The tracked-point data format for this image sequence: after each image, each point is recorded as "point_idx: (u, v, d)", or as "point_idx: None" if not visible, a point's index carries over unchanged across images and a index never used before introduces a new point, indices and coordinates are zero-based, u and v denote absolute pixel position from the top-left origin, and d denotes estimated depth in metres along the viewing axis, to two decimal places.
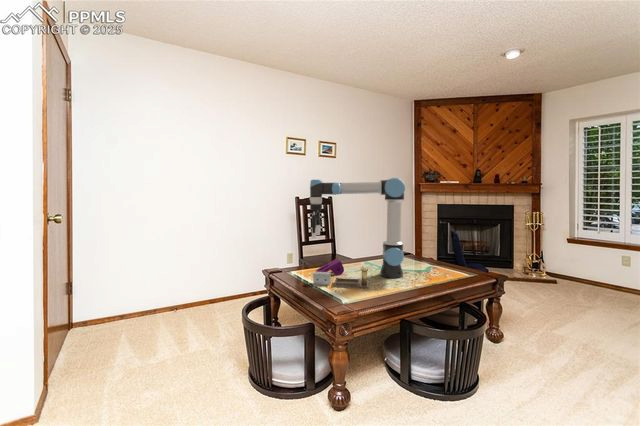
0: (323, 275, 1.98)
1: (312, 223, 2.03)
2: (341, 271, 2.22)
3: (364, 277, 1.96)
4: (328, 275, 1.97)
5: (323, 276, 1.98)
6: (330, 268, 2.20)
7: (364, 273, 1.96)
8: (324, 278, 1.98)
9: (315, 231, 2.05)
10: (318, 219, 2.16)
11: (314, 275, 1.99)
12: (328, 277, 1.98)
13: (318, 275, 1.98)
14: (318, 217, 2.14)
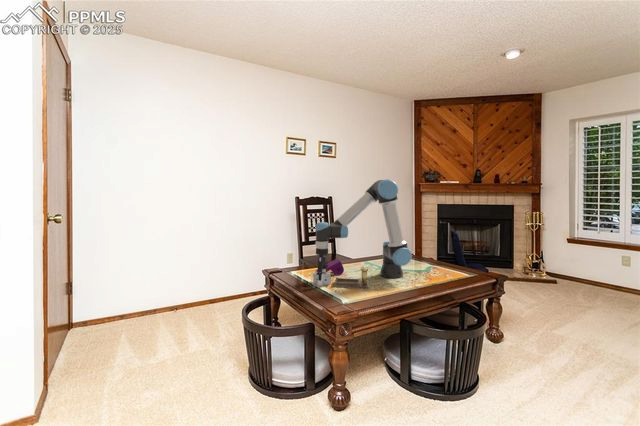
0: (323, 275, 1.98)
1: (318, 270, 1.91)
2: (340, 271, 2.22)
3: (364, 277, 1.96)
4: (328, 275, 1.97)
5: (323, 276, 1.98)
6: (330, 268, 2.20)
7: (364, 273, 1.96)
8: (324, 278, 1.98)
9: (321, 278, 1.93)
10: (324, 263, 2.04)
11: (314, 275, 1.99)
12: (328, 277, 1.98)
13: None
14: (324, 261, 2.03)
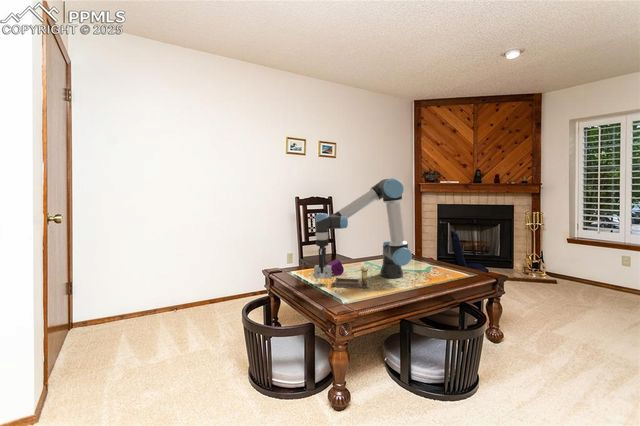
0: (324, 268, 1.98)
1: (320, 264, 1.94)
2: (340, 271, 2.21)
3: (364, 277, 1.96)
4: (329, 268, 1.97)
5: (324, 269, 1.98)
6: None
7: (364, 273, 1.96)
8: (325, 271, 1.98)
9: (323, 271, 1.97)
10: (324, 256, 2.02)
11: (315, 268, 1.99)
12: (329, 270, 1.97)
13: (319, 268, 1.98)
14: (324, 254, 2.01)
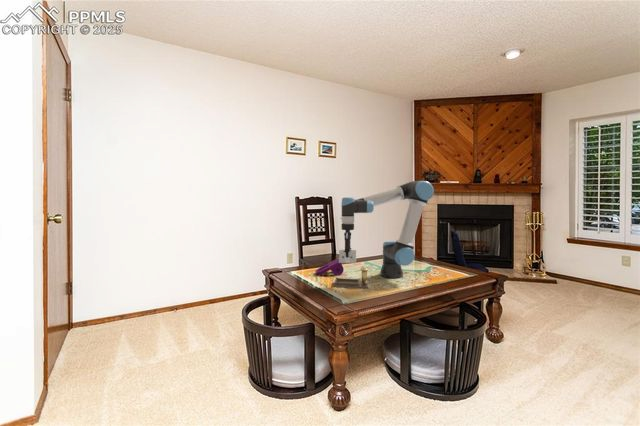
0: None
1: (346, 248, 1.92)
2: (340, 271, 2.21)
3: (364, 277, 1.96)
4: (354, 252, 1.95)
5: None
6: (329, 268, 2.20)
7: (364, 273, 1.96)
8: (350, 255, 1.95)
9: (348, 255, 1.95)
10: None
11: (340, 252, 1.96)
12: (354, 255, 1.95)
13: (344, 252, 1.96)
14: (349, 238, 1.99)
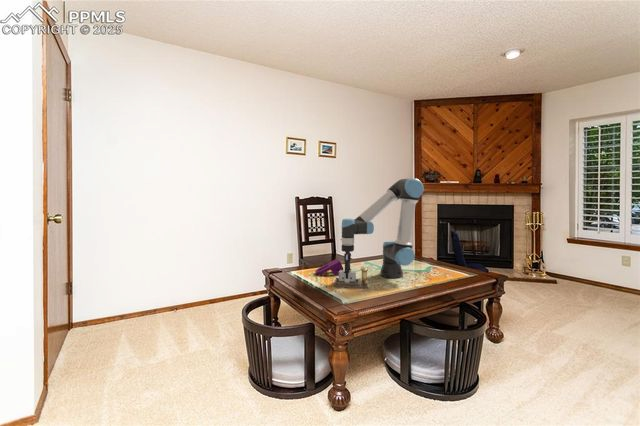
0: (349, 273, 1.96)
1: (345, 269, 1.93)
2: None
3: (364, 277, 1.96)
4: (354, 273, 1.96)
5: (349, 274, 1.96)
6: (329, 268, 2.20)
7: (364, 273, 1.96)
8: (350, 276, 1.96)
9: (348, 277, 1.96)
10: (349, 262, 2.00)
11: (339, 273, 1.97)
12: (354, 276, 1.96)
13: (344, 273, 1.97)
14: (349, 259, 2.00)
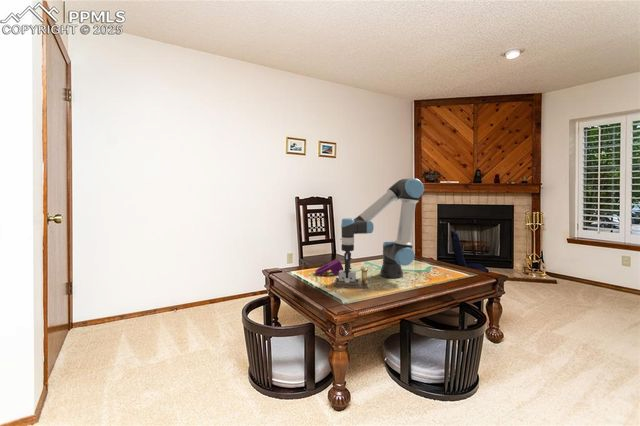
0: None
1: (345, 269, 1.92)
2: None
3: (364, 277, 1.96)
4: (354, 273, 1.96)
5: None
6: (329, 268, 2.20)
7: (364, 273, 1.96)
8: (350, 276, 1.96)
9: (348, 276, 1.95)
10: (349, 261, 2.01)
11: (339, 273, 1.97)
12: (354, 276, 1.96)
13: (344, 273, 1.97)
14: (349, 259, 2.00)
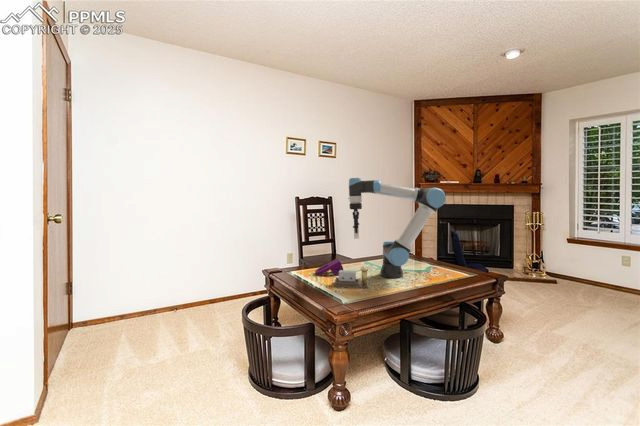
0: (349, 273, 1.96)
1: (355, 223, 1.95)
2: None
3: (364, 277, 1.96)
4: (354, 273, 1.96)
5: (349, 274, 1.96)
6: (329, 268, 2.20)
7: (364, 273, 1.96)
8: (350, 276, 1.96)
9: (357, 231, 1.98)
10: None
11: (339, 273, 1.97)
12: (354, 276, 1.96)
13: (344, 273, 1.97)
14: None
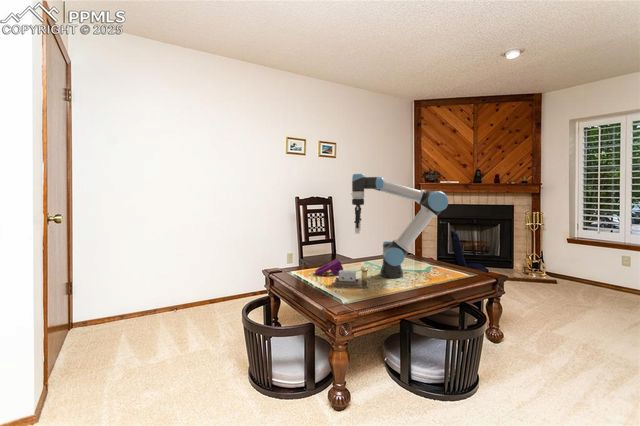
0: (349, 273, 1.96)
1: (356, 218, 1.98)
2: None
3: (364, 277, 1.96)
4: (354, 273, 1.96)
5: (349, 274, 1.96)
6: (329, 268, 2.20)
7: (364, 273, 1.96)
8: (350, 276, 1.96)
9: (359, 226, 2.01)
10: None
11: (339, 273, 1.97)
12: (354, 276, 1.96)
13: (344, 273, 1.97)
14: None
